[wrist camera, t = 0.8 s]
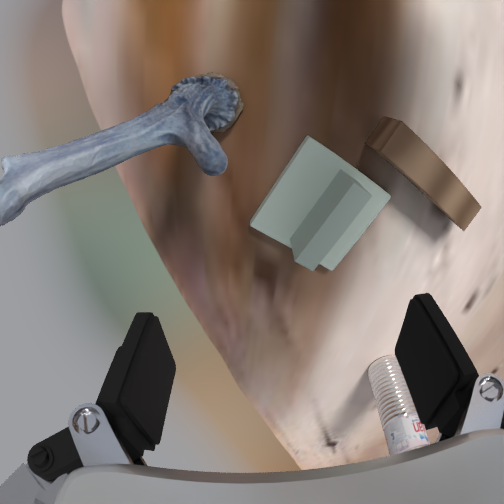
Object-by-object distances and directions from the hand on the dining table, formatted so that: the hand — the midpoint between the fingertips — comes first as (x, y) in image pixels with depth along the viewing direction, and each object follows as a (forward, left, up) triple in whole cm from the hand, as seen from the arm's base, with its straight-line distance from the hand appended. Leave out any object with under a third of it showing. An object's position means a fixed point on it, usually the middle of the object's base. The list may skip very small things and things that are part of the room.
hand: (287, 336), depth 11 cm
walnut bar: (-10, +16, -26) cm, 32 cm away
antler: (-1, -10, -25) cm, 27 cm away
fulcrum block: (+1, +8, -25) cm, 26 cm away
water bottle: (+19, +38, -25) cm, 49 cm away
